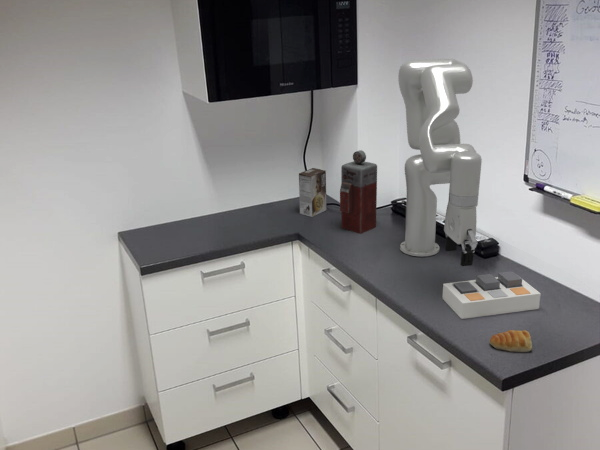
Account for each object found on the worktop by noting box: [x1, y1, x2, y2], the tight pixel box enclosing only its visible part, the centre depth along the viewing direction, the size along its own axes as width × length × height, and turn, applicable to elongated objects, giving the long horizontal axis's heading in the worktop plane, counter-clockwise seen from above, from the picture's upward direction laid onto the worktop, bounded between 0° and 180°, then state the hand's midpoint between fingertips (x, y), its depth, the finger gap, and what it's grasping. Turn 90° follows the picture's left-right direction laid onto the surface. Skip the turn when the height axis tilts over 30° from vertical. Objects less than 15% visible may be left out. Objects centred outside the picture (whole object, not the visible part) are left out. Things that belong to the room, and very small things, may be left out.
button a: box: [454, 280, 477, 294], centre depth 174 cm, size 5×4×4 cm
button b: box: [475, 273, 500, 291], centre depth 175 cm, size 5×4×4 cm
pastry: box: [489, 329, 533, 353], centre depth 154 cm, size 9×7×4 cm
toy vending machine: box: [339, 149, 378, 235], centre depth 225 cm, size 9×11×28 cm
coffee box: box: [298, 167, 327, 218], centre depth 244 cm, size 9×6×16 cm
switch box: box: [442, 276, 542, 320], centre depth 174 cm, size 12×22×5 cm, turn 102°
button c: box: [497, 271, 523, 288], centre depth 176 cm, size 5×4×4 cm
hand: (458, 257), depth 176 cm, fingers open, 9 cm apart
